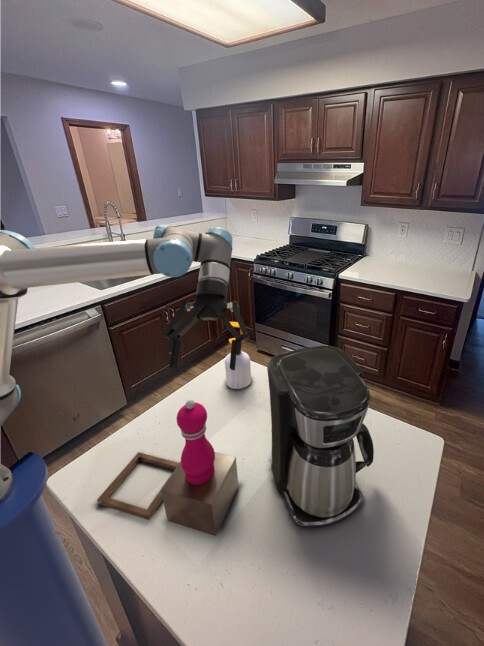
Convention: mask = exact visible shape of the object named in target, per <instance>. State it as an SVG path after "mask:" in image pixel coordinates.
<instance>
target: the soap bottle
mask: <svg viewBox="0 0 484 646" xmlns="http://www.w3.org/2000/svg"><path fill="white" fill-rule="evenodd" d="M229 322H230V323H231V325H232V326H233V327H234V328H235V329H239V335H241V334H243V333H242V331H241V329H240V326H239V324H238V322H237V321H229ZM232 340H236V339H235V337H232V338H229V339H228V342H229V343H230V345H231V346H232ZM245 342H246V340H244V341H243V342H242V344H244V343H245ZM230 357H231V352H229V353H228V354H227V355H226V356H225V359H224V368H225V382H226V385H227V386H228V387H229V388H231V389H233V390H234V389H235V390H241V389H244V388H246V387H248V386H249V385H251V383H252V371H251V357H250V356H249V354H248V353H247V352H245V351H243V350H241V354H240V355H236V364H235V370H231V369H230Z"/></svg>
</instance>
